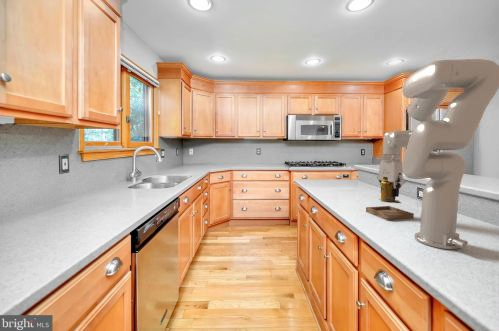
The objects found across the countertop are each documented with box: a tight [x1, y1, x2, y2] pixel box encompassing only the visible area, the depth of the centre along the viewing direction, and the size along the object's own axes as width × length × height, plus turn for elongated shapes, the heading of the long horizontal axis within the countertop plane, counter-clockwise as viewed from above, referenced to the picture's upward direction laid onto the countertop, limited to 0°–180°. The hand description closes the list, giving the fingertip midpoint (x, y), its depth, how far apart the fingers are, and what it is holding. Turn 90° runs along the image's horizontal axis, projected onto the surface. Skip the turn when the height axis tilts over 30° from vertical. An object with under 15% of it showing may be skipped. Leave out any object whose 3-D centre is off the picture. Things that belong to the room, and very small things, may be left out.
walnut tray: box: [365, 205, 415, 221], centre depth 111 cm, size 14×14×2 cm
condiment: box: [378, 177, 402, 204], centre depth 109 cm, size 7×8×12 cm
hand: (389, 194), depth 110 cm, fingers closed on condiment, 6 cm apart
